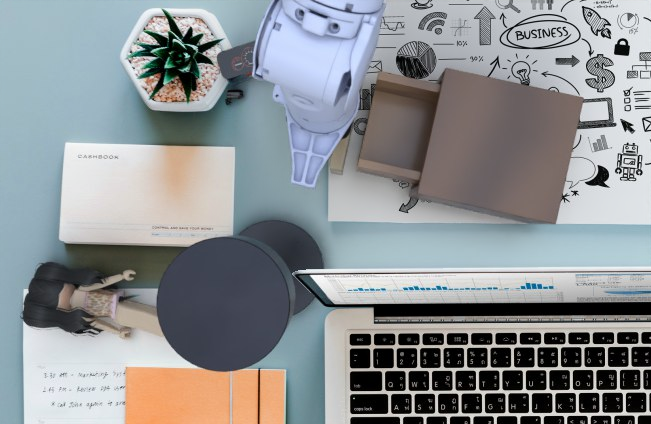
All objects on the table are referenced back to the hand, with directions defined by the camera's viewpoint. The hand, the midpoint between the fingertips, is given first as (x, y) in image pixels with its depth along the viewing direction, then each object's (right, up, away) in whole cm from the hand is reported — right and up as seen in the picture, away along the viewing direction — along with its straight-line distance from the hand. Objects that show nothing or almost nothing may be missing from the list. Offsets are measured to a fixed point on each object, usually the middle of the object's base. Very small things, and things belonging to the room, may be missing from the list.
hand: (324, 119), depth 61 cm
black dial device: (-8, +5, +5) cm, 11 cm away
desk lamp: (-5, -15, +5) cm, 16 cm away
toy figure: (-22, -18, +6) cm, 29 cm away
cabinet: (+16, -3, +4) cm, 17 cm away
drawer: (+5, -1, +4) cm, 7 cm away
